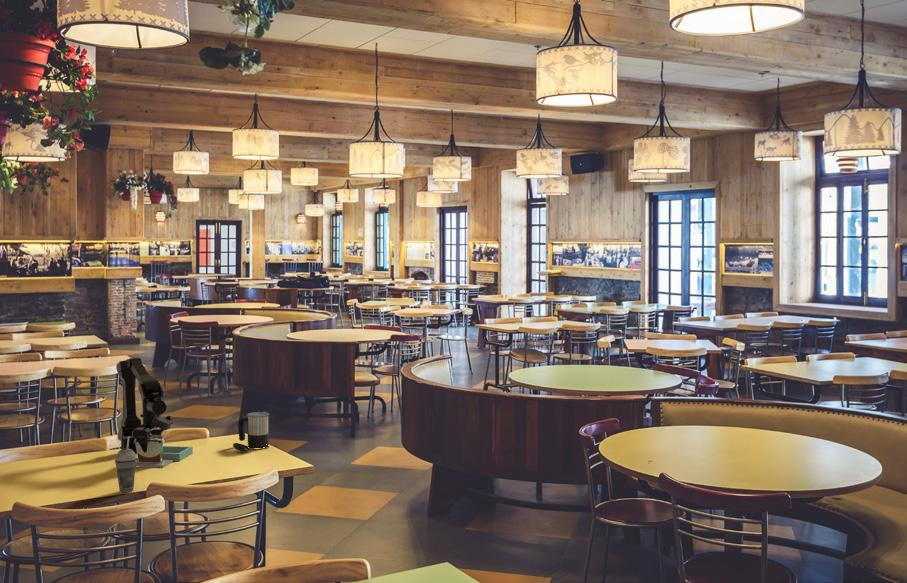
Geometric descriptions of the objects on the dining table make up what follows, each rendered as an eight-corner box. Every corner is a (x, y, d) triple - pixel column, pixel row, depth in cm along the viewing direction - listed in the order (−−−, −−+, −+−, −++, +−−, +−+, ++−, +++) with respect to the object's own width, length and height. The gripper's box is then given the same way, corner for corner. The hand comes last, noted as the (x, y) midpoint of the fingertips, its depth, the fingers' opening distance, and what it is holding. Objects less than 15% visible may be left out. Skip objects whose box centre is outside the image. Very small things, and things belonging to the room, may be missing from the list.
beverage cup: (119, 488, 293) (117, 434, 292) (140, 488, 294) (138, 433, 293) (112, 494, 286) (111, 438, 285) (133, 494, 286) (132, 438, 285)
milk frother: (271, 444, 359) (270, 411, 358) (264, 453, 343) (264, 419, 342) (238, 445, 358) (238, 412, 357) (230, 454, 342) (230, 419, 342)
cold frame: (138, 459, 334) (138, 452, 333) (152, 452, 345) (152, 445, 345) (179, 461, 331) (179, 453, 331) (192, 453, 343) (192, 446, 343)
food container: (171, 458, 330) (170, 434, 329) (164, 463, 324) (162, 438, 323) (142, 457, 332) (141, 434, 331) (134, 462, 326) (133, 438, 325)
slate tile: (129, 466, 323) (129, 464, 323) (139, 461, 331) (139, 459, 331) (163, 467, 321) (163, 465, 321) (172, 462, 329) (172, 460, 329)
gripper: (157, 416, 315) (158, 456, 316) (179, 406, 333) (180, 444, 334) (130, 415, 316) (131, 455, 317) (154, 406, 335) (154, 443, 335)
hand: (150, 449), depth 326 cm, fingers open, 9 cm apart
